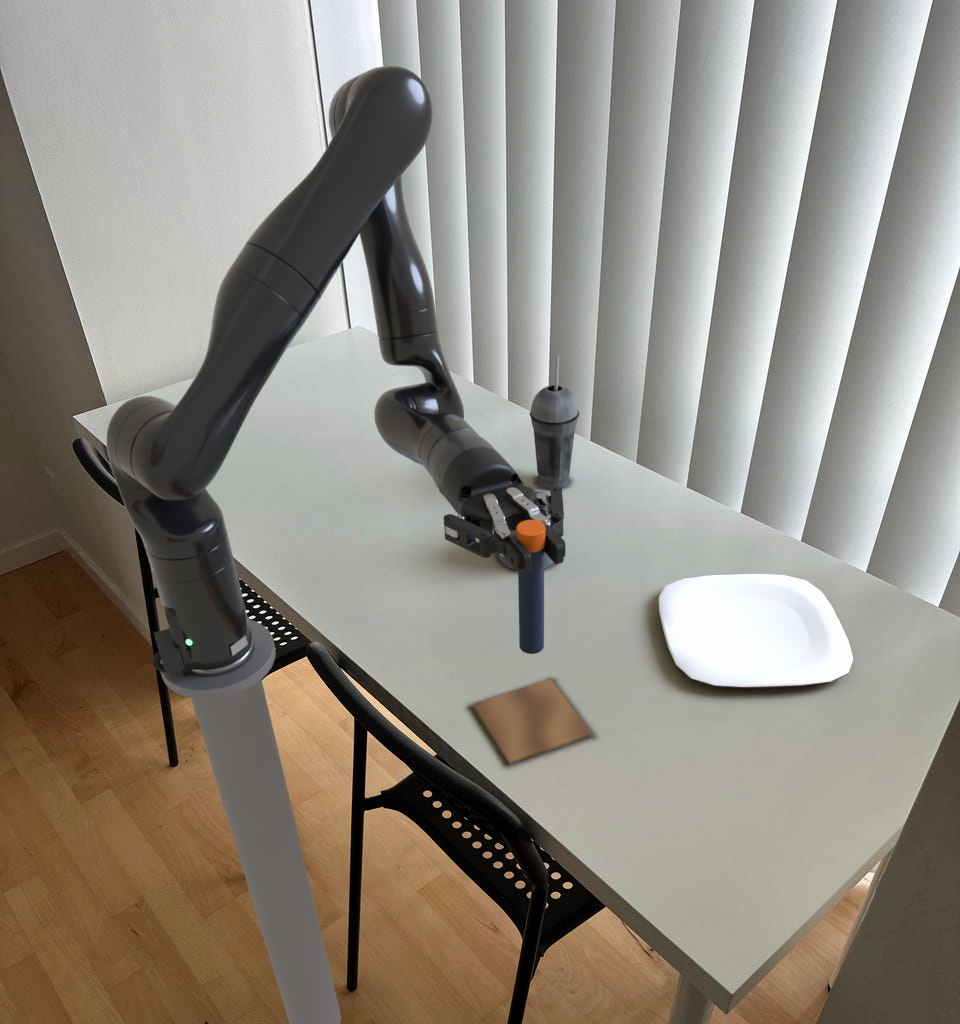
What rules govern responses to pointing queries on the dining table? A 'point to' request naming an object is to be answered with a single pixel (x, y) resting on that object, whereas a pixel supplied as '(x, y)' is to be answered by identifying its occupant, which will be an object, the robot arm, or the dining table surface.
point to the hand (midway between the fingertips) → (544, 560)
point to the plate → (753, 631)
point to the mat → (531, 721)
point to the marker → (531, 588)
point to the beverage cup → (554, 432)
